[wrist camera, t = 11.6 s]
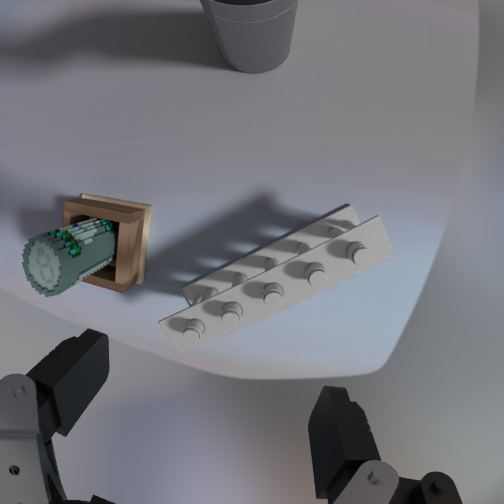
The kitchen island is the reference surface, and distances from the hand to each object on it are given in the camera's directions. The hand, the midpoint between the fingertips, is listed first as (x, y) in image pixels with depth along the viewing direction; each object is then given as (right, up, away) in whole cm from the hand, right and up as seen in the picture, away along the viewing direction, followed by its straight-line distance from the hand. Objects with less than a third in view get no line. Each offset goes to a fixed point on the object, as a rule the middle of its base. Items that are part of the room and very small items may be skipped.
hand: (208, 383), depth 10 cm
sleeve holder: (-18, +7, +30) cm, 36 cm away
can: (-18, +7, +29) cm, 35 cm away
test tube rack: (+4, +3, +30) cm, 31 cm away
